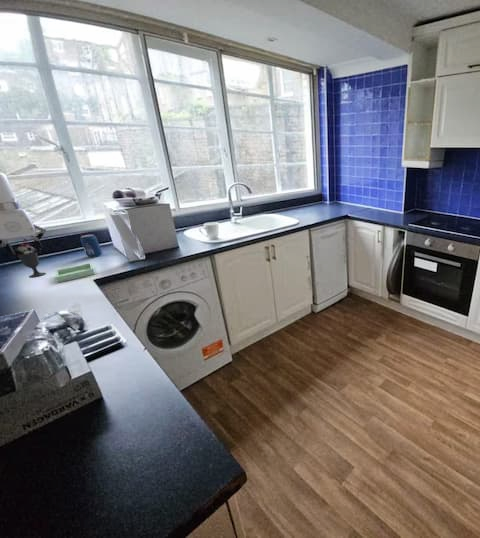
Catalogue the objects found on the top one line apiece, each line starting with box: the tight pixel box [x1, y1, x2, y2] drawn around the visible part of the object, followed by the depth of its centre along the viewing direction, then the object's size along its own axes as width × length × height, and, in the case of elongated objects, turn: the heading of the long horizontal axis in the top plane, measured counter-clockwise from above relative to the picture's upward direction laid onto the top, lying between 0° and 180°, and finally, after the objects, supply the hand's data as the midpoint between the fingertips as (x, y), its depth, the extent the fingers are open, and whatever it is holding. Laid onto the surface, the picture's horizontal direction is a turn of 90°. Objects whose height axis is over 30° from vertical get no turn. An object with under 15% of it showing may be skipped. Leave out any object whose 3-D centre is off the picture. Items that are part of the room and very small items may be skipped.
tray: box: [55, 262, 95, 283], centre depth 143 cm, size 13×12×3 cm
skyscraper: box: [109, 208, 146, 263], centre depth 156 cm, size 8×8×28 cm
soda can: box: [80, 233, 103, 258], centre depth 167 cm, size 7×7×12 cm
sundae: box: [13, 238, 47, 279], centre depth 117 cm, size 7×7×15 cm
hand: (26, 252), depth 116 cm, fingers closed on sundae, 6 cm apart
